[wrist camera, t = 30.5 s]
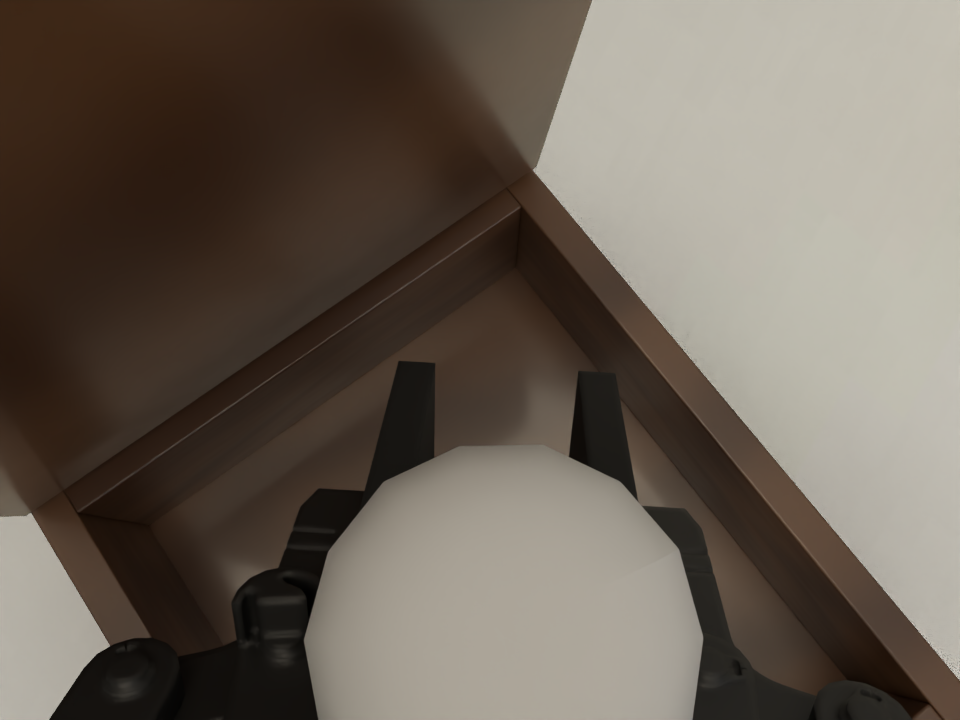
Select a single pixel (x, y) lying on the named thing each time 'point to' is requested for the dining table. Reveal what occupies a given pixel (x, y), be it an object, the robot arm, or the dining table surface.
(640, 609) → the salt shaker
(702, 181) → the dining table surface
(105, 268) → the lid
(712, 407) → the wooden box
